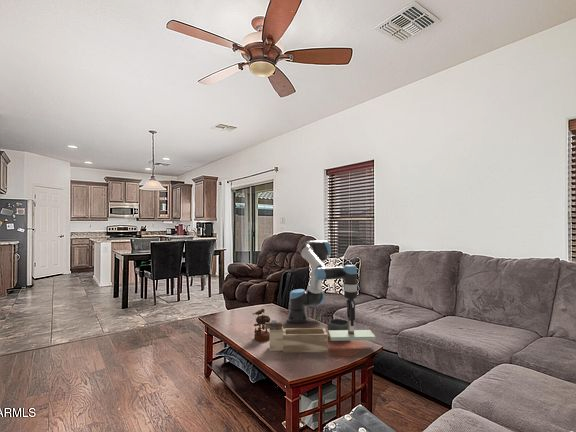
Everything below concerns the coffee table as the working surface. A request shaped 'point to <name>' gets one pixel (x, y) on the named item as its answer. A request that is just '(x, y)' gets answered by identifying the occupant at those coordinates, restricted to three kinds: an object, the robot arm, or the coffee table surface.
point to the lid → (350, 334)
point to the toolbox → (298, 339)
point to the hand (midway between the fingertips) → (351, 329)
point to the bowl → (338, 324)
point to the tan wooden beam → (268, 325)
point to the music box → (259, 334)
